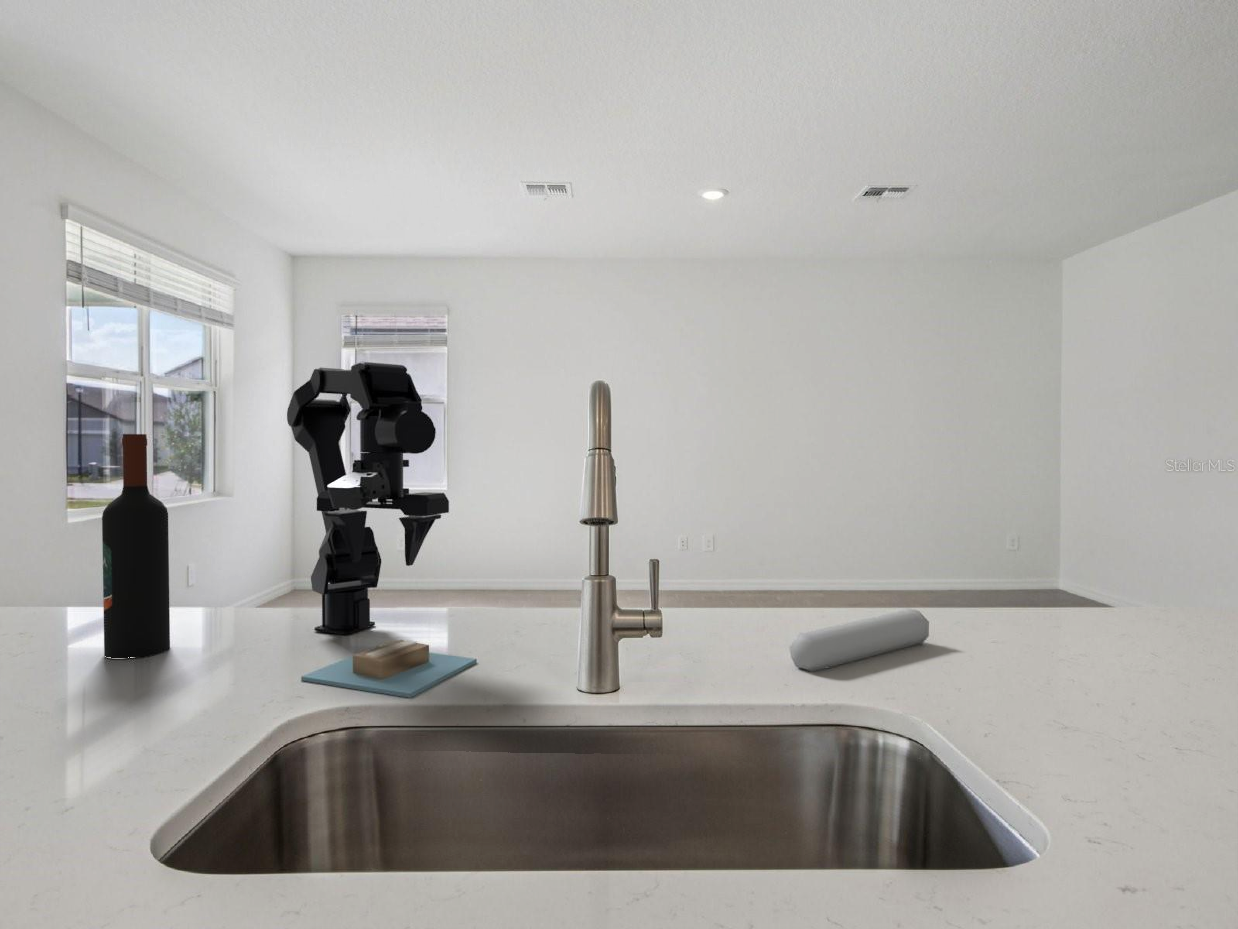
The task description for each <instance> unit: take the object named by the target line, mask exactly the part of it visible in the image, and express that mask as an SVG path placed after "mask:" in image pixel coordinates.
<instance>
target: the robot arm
mask: <svg viewBox="0 0 1238 929" xmlns="http://www.w3.org/2000/svg"><path fill="white" fill-rule="evenodd" d="M320 394H330V395H331V394H336V395H341V397H340V399H339V401H337V400H335V399H322V398H321V399H319V398H318V397H319V396H320ZM348 395H349V396H350V398H351V399H352V400H354V401H355V402H357V403H358V404H359V406H360V407H361V410H360V411H358V413H357V414H356V417H355V418H356V421H360V422H359V423H360V424H359V425H360V427H359V429H360V430H359V431H360V432H359V435H360V436H359V438H360V439H359V440H360V441H359V444H360V445H359V446H360V447H359V448H360V454H359V455H360V458H359V459H354V460H353V463H352V471H351V473H348V474H347V472H346V467H345V464H344V460H343V455H342V451H341V450H342V449H341V446H340V440H341V439H342V436H343V434H344V432H345V430H346V422H347V420H348V418H349V415H350V413H351V411H352V410H351V409H352V408H351V405H350V403H349V400H348V397H347V396H348ZM317 398H318V399H317ZM422 410H423V406H422V398H421V395H420V394H419V393H418V391H417V388H416V386H415V383H414V381H413V378H412V376H411V374H409V373H408V367H406V366H405V365H403V364H394V363H383V362H370V361H360V362H357V363H355V364H352V366H351V367H350V369H342V368H332V367H331V368H330V367H319V368H315V369H313V371H312V373H311V376H310V379H308V380H307V381H306V382H305V383H303V385H301V386H300V387H298V388H297V389H296V390H294V392H293V393H292V397H291V399H290V402H289V404H288V407H287V412H286V421H287V425H288V426H289V427H290V429H291V430H292V431H291V432H292V435H293V438H294V440H295V442H297V443H298V445H300V446H301V447H302V449H304V450H305V451H306V452H307V453H308V456H309V460H310V464H311V470H312V475H313V478H314V483H315V488H316V492H317V497H316V511H317V512H321V515H322V520H323V523H324V524H323V525H324V528H325V529H324V530H325V536H324V537H323V540H322V542H321V543H320V546H319V549H318V556H319V557H318V559H317V561H316V564H315V566H314V568H313V571H312V574H311V576H310V581H311V582H310V583H311V589H312V591H313V592H314V593H317V594H320V595H321V625H317V626H315V627H314V632H323V633H328V634H338V635H345V636H347V635H351V634H353V633H357V632H360V631H362V630H365V629H368V628H371V627H373V626H375V625H376V622H375V621H372V620H371V617H370V616H371V615H370V614H371V610H370V609H371V601H370V600H371V599H370V598H369V589H370V588H371V589H375V588H378V583H379V578H380V575H381V574H380V573H381V567H382V558H381V554H380V551H379V548H378V546H377V544H376V539H375V533H374V531H373V529H372V528H371V526H366V523H367V522H366V521H367V517H368V516H367V514H368V511H367V510H360V509H362V508H364V509H365V508H366V509H381V510H382V509H384V510H385V509H387V510H400V511H401V512H402V514H403V515H404V516H403V517H399V518H398V520H399V522H400V523H401V525H402V527H403V528H404V558H405V566H407V567H410V566H413V565H414V563H415V561H416V559H417V556H418V555H419V552H420V549H421V548H422V545H423V543H424V542H425V538H426V537H427V535H428V533H429V532H430V530H431V528H432V526H433V524H434V523H435V521H436V520H440V519H441V518H442V514H447V513H450V501H449V499H448V497H447V496H446V494H445V493H444V492H429V491H428V492H427V491H426V492H424V491H423V492H413V493H410V488H409V487H408V488H407V487H405V488H404V468H408V467H410V460H409V459H404V454H411V455H412V454H414V455H417V454H422V453H424V452H426V451H428V450H429V449H430V448H431V446H432V445H433V443H434V441H435V439H436V434H437V432H436V431H437V430H436V427H435V424H434V422H433V420H432V418H431V417H430V416H429V415H428V414H427V413H425V412H424V411H422ZM374 500H377V501H374Z"/></svg>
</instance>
